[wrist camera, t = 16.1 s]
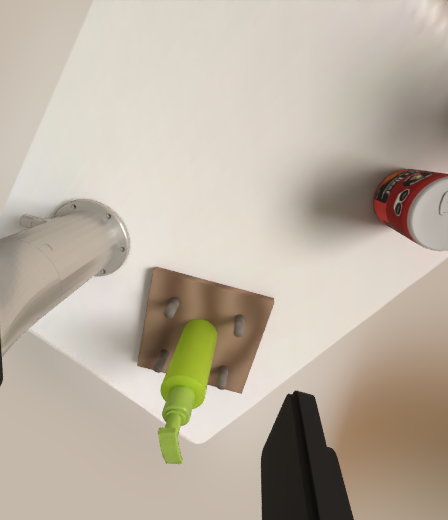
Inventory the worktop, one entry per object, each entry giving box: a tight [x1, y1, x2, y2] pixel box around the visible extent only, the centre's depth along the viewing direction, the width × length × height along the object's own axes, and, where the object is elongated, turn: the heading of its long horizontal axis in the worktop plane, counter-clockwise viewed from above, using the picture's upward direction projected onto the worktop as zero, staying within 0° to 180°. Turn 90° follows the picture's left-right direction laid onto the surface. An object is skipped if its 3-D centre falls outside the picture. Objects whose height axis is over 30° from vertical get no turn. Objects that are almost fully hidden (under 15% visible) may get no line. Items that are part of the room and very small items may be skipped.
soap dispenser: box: [158, 319, 217, 464], centre depth 41 cm, size 6×7×20 cm
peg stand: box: [137, 267, 274, 394], centre depth 49 cm, size 20×20×6 cm
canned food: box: [374, 169, 448, 251], centre depth 36 cm, size 8×8×11 cm
